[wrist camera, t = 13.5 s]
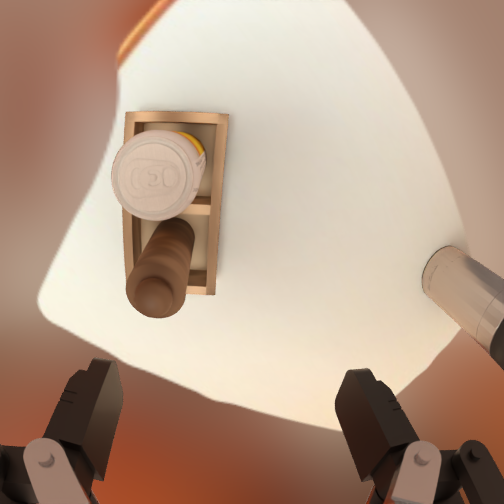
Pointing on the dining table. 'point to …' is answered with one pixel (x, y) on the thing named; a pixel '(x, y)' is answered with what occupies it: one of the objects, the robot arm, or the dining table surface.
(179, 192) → the beer can
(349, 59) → the dining table surface
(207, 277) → the caddy
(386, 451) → the robot arm
